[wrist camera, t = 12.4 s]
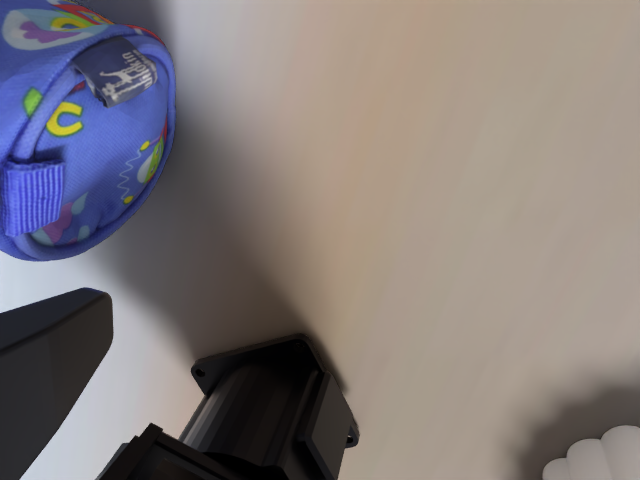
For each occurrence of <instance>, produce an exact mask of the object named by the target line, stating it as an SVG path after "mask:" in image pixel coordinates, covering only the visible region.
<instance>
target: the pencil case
mask: <svg viewBox="0 0 640 480" xmlns="http://www.w3.org/2000/svg"><path fill="white" fill-rule="evenodd" d="M175 92H176V82H175V73H174V67H173V62H172V59H171V56H170V54H169V52H168V51H167V49H166V46H165V44H164V43H163V42H162V41H161V39H160V38H159V37H158V36H156V35H155V34H154V33H153V32H151V31H149V30H147V29H145V28H141V27H138V26H134V25H126V24H114V23H113V22H111V21H109V20H108V19H106V18H104V17H102V16H101V15H99V14H97V13H95V12H93V11H91V10H89V9H87V8H85V7H83V6H81V5H79V4H77V3H75V2H72V1H69V0H0V250H1V251H3V252H5V253H7V254H9V255H10V256H13V257H15V258H18V259H21V260H27V261H50V260H60V259H65V258H69V257H73V256H76V255H79V254H81V253H83V252H85V251H87V250H89V249H90V248H92V247H94V246H95V245H97V244H99V243H100V242H102V241H103V240H105V239H106V238H108V237H109V236H110V235H111V234H113V233H114V232H115V231H116V230H117V229H119V228H120V227H121V226H122V225H123V224H124V223H125V222H126V221H127V220H128V219H129V218H130V217H131V216H132V215H133V214H134V213H135V212H136V211H137V210H138V209H139V208H140V207H141V205H142V204H143V203H144V202H145V200H146V199H147V197H148V196H149V194H150V193H151V191H152V189H153V188H154V186H155V185H156V183H157V181H158V179H159V177H160V175H161V173H162V171H163V168H164V165H165V163H166V160H167V157H168V155H169V154H170V152H171V149H172V144H173V139H174V131H175V122H176V107H175Z"/></svg>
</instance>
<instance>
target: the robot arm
mask: <svg viewBox="0 0 640 480" xmlns="http://www.w3.org/2000/svg"><path fill="white" fill-rule="evenodd" d="M112 340H113V309H112V299H111V296H110V295H109V294H108V293H106V292H103V291H99V290H95V289H92V288H80V289H77V290H74V291H70V292H67V293H64V294H61V295H58V296H54V297H51V298H48V299H45V300H41V301H38V302H35V303H32V304H29V305H25V306H22V307H19V308H16V309H12V310H9V311H6V312H3V313H0V480H19V479H20V478H21V477H22V476H23V474H24V473H25V472H26V471H27V469H28V468H29V467H30V465H31V464H32V463H33V462H34V460H35V459H36V458H37V456H38V455H39V454H40V453H41V451H42V450H43V449H44V448H45V446H46V445H47V444H48V442H49V441H50V440H51V438H52V437H53V436H54V434H55V433H56V432H57V430H58V429H59V427H60V426H61V424H62V423H63V421H64V420H65V418H66V417H67V415H68V414H69V412H70V411H71V409H72V407H73V406H74V404H75V403H76V401H77V400H78V398H79V396H80V395H81V393H82V392H83V390H84V388H85V387H86V385H87V384H88V382H89V380H90V379H91V377H92V376H93V374H94V372H95V371H96V369H97V368H98V366H99V365H100V363H101V361H102V360H103V358H104V357H105V355H106V353H107V352H108V350H109V348H110V346H111V344H112ZM296 343H300V344H302V345H303V346H304V347H299V346H298V345H297V344H296ZM200 369H202V370H203V371H204V372H203V371H201V370H200ZM191 374H192V376H193V377H194V379H195V380H196V382H197V384H198V385H199V387H200V388H201V390H202V392H203V393H204V395H205V396H204V398H203V399H202V401H201V403H200V404H199V406H198V408H197V409H196V411H195V412H194V414H193V416H192V417H191V419H190V421H189V422H188V424H187V426H186V427H185V429H184V431H183V432H182V434H181V435H180V437H179V439H178V440H177V439H175V438H173V437H172V436H170V435H168V434H166V433H164V432H162V431H163V429H162V428H160V427H158V426H157V425H155V424H153V423H150V424H149V425H148V427H147V428H146V429H145V430H144V432H143V433H142V434H141V435H140V437H138V436H136V435H135V436H134V438H133V439H132V440H131V441H130V442H129V443H122V445H121V446H120V447H119V449H118V450H117V452H116V453H115V454H114V456H113V457H112V458H111V460H110V461H109V463H108V464H107V465H106V467H105V468H104V469H103V471H102V472H101V473H100V474H99V476H98V477H97V478H96V479H95V480H337V479H338V475H339V471H340V466H341V462H342V458H343V454H344V450H345V448H350V447H354V446H356V445H357V444H358V441H359V436H360V434H359V431H358V429H357V427H356V425H355V423H354V421H353V419H352V416H353V414H352V412H351V410H350V408H349V406H348V404H347V402H346V400H345V398H344V396H343V394H342V392H341V390H340V389H339V387H338V385H337V383H336V381H335V379H334V377H333V375H332V374H331V373H329V372H328V371H327V370H326V368H325V366H324V364H323V362H322V360H321V358H320V356H319V354H318V353H317V351H316V349H315V347H314V345H313V343H312V341H311V340H310V338H309V337H308V336H306V335H304V334H294V335H290V336H286V337H283V338H279V339H275V340H271V341H268V342H264V343H260V344H256V345H252V346H249V347H245V348H241V349H237V350H234V351H230V352H226V353H222V354H218V355H215V356H211V357H207V358H203V359H200V360H197V361H196V362H195V363H194V365H193V366H192V368H191ZM348 436H351V437H348Z"/></svg>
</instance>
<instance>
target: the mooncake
mask: <svg viewBox="0 0 640 480" xmlns="http://www.w3.org/2000/svg"><path fill="white" fill-rule="evenodd" d="M543 480H640V428H639V427H636V426H630V425H623V426H617V427H614V428H612V429H610V430H608V431H607V432H605V433H604V434H603V436H602V438H601V440H599V439H584V440H580V441H578V442H576V443H574V444H573V445H572V446H571V447H570V448H569V449H568V452H567V458H558V459H555V460H552V461H551V462H549V463H548V464H547V465H546V466H545V467H544V470H543Z"/></svg>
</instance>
